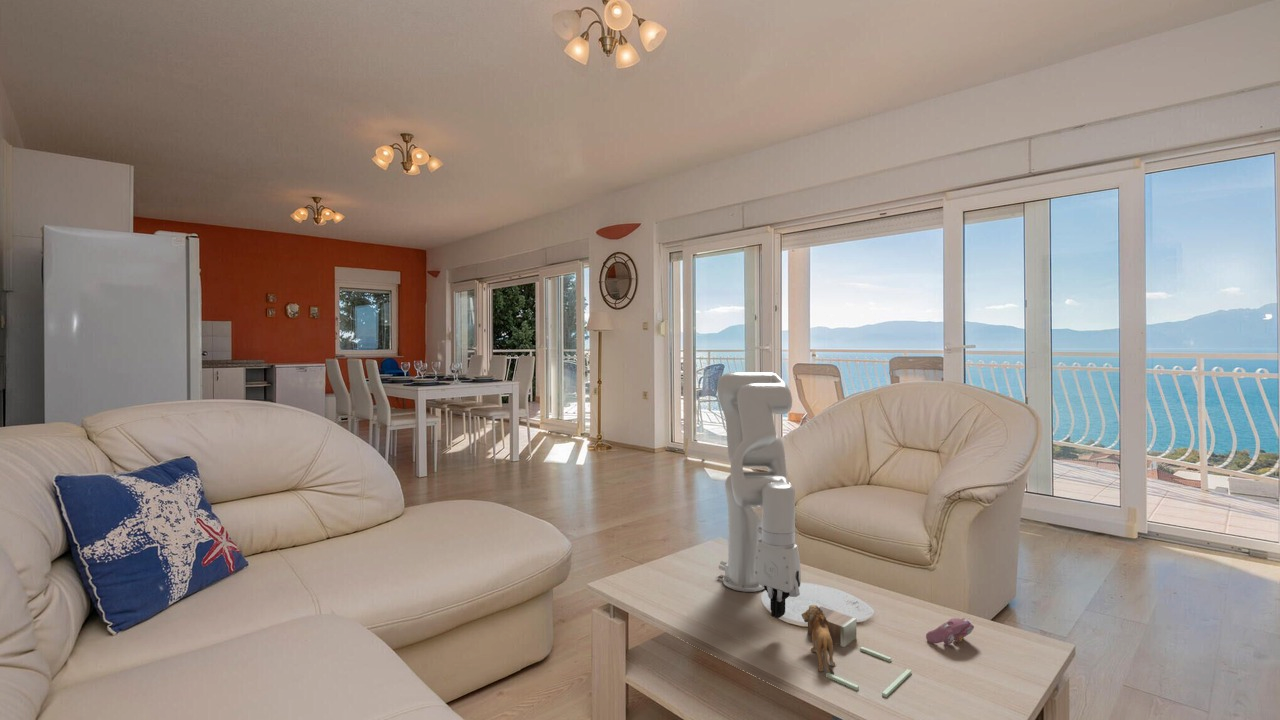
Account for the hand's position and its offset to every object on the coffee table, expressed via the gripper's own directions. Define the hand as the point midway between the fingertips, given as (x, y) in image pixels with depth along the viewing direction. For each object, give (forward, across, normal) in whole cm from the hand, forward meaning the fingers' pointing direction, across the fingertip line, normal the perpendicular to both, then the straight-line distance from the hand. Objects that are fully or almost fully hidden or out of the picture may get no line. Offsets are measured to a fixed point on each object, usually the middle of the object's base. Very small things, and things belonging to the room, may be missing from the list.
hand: (777, 615), depth 134 cm
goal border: (+5, +22, 0) cm, 22 cm away
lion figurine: (+5, +12, -2) cm, 13 cm away
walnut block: (+2, +4, +9) cm, 10 cm away
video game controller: (+5, +29, +26) cm, 39 cm away
